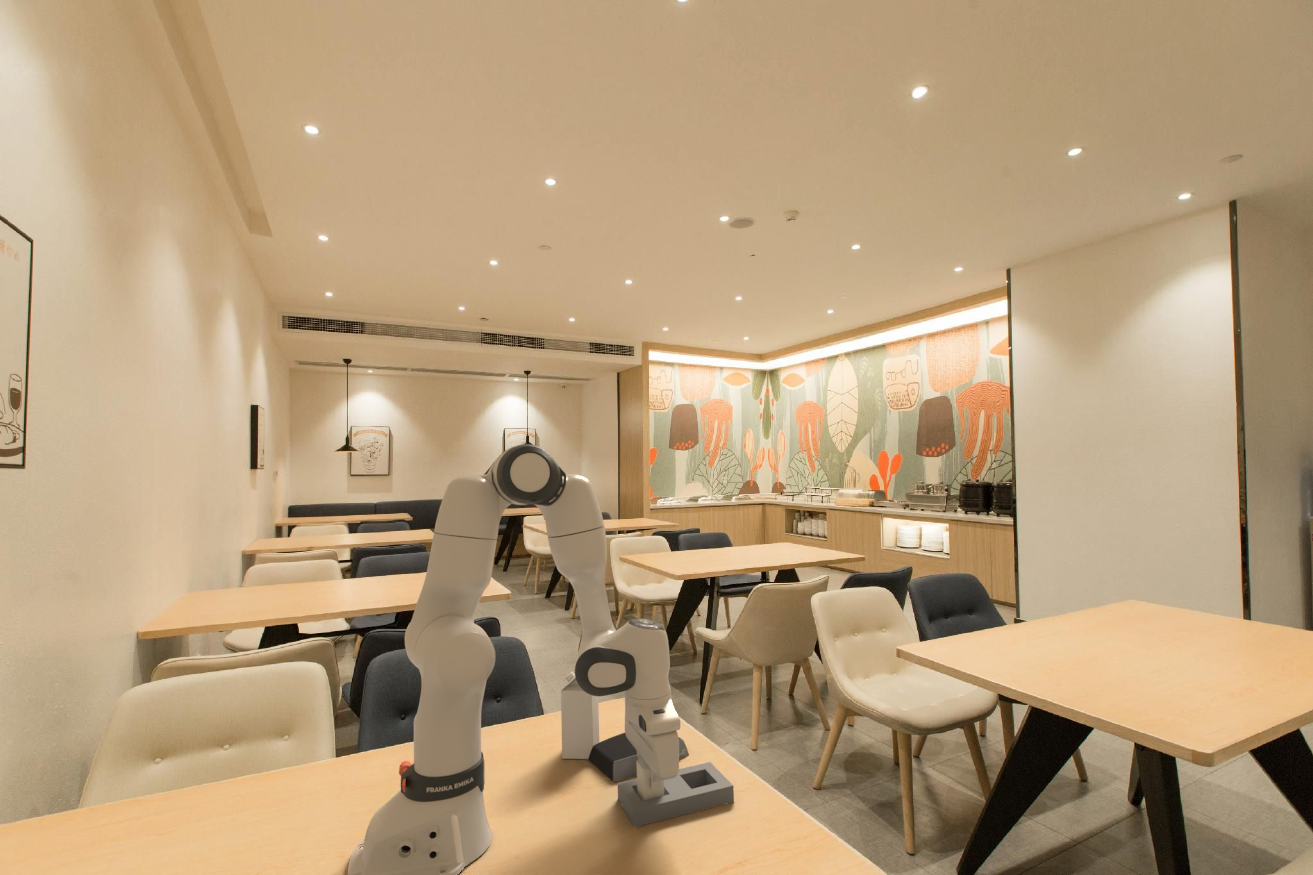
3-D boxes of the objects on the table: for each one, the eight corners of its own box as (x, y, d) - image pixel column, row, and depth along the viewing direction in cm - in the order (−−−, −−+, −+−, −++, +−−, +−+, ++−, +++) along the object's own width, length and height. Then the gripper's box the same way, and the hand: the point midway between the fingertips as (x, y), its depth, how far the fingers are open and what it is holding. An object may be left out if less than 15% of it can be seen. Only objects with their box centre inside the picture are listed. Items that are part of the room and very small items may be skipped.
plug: (644, 814, 108) (643, 764, 109) (637, 803, 112) (636, 754, 112) (664, 809, 109) (663, 759, 110) (657, 798, 113) (655, 750, 114)
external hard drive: (691, 758, 130) (690, 739, 130) (615, 786, 119) (614, 765, 119) (658, 737, 141) (658, 719, 141) (586, 760, 130) (586, 741, 130)
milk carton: (599, 745, 136) (597, 662, 137) (593, 760, 129) (591, 672, 130) (569, 744, 137) (568, 662, 138) (561, 759, 130) (560, 672, 131)
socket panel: (634, 827, 104) (634, 810, 104) (617, 798, 113) (617, 783, 114) (733, 801, 111) (733, 785, 112) (710, 776, 121) (710, 761, 121)
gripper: (616, 690, 120) (618, 760, 119) (651, 730, 101) (653, 813, 100) (645, 685, 123) (647, 753, 122) (684, 723, 104) (687, 804, 103)
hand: (650, 781), depth 111 cm, fingers closed on plug, 4 cm apart
